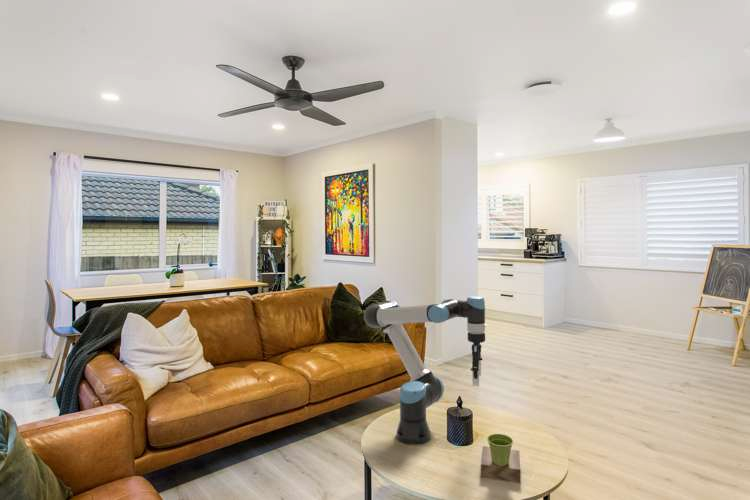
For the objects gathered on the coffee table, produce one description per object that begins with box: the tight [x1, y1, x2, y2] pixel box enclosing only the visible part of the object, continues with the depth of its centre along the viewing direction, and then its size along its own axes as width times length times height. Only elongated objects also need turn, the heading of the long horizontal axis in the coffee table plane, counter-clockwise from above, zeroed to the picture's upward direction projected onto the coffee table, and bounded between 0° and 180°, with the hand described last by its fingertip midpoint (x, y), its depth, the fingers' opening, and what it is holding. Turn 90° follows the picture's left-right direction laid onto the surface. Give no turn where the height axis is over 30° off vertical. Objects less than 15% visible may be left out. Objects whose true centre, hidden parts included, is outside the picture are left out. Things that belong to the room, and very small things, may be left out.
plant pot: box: [486, 433, 514, 466], centre depth 159 cm, size 9×9×9 cm
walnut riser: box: [480, 445, 522, 484], centre depth 163 cm, size 14×14×5 cm
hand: (476, 380), depth 186 cm, fingers open, 13 cm apart
